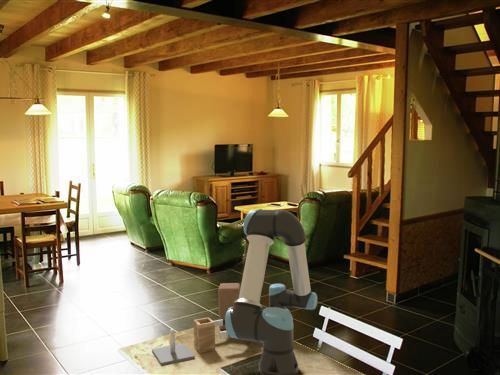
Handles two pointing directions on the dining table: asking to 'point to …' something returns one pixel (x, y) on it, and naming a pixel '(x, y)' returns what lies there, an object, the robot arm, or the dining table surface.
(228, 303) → the wooden block
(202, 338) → the wooden tube bead
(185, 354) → the metal rod stand
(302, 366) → the dining table surface
